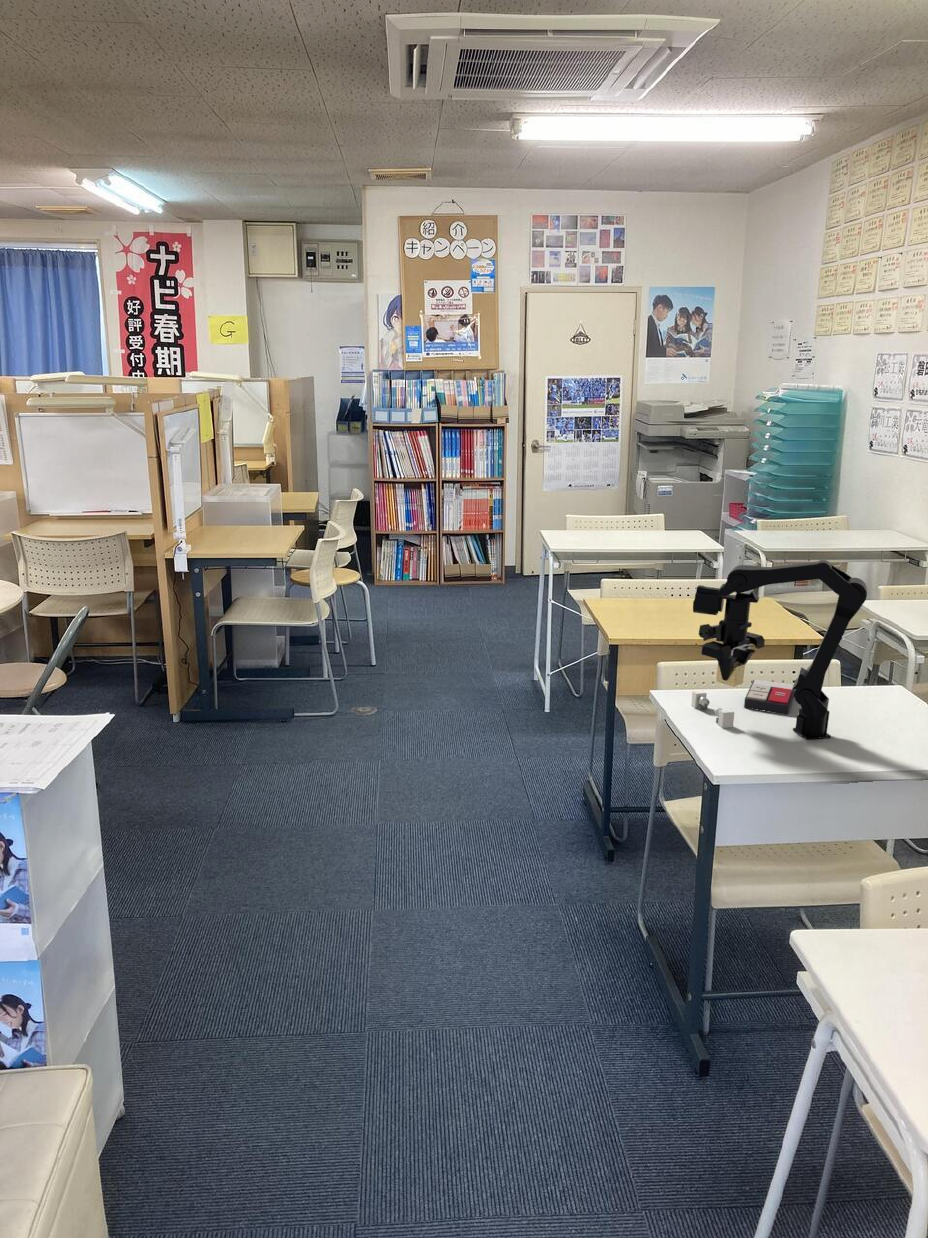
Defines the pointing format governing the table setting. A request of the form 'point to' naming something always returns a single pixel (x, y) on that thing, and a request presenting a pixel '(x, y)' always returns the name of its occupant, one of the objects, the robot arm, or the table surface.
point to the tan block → (733, 675)
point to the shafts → (704, 703)
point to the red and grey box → (770, 696)
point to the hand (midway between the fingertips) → (729, 678)
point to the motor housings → (724, 715)
